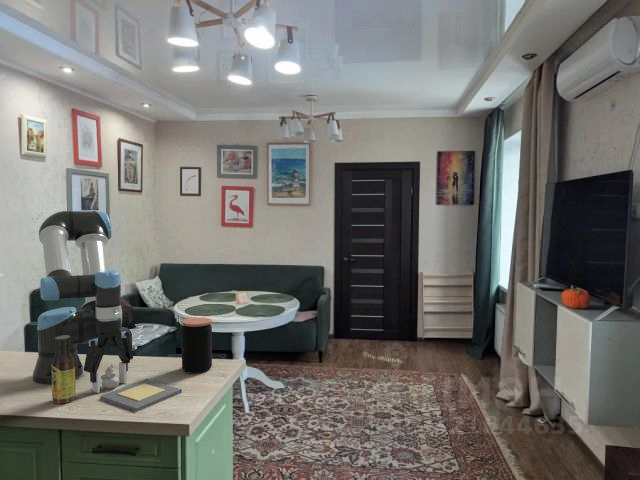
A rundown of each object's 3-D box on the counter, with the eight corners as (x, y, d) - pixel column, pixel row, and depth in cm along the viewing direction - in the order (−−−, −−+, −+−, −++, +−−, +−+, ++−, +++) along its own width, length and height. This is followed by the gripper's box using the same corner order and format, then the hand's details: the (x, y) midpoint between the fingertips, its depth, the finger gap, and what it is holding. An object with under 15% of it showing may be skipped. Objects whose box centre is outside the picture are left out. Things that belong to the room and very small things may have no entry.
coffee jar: (192, 363, 177) (191, 316, 176) (217, 365, 174) (217, 318, 173) (176, 372, 167) (175, 322, 166) (202, 375, 164) (202, 325, 163)
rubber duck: (110, 392, 148) (110, 367, 148) (95, 388, 151) (94, 364, 150) (123, 386, 153) (123, 362, 153) (108, 383, 156) (108, 359, 155)
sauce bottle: (53, 398, 143) (52, 334, 141) (76, 395, 145) (75, 332, 144) (51, 406, 137) (49, 340, 135) (75, 403, 139) (73, 338, 138)
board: (100, 399, 142) (100, 395, 142) (146, 381, 157) (146, 378, 157) (136, 411, 134) (136, 407, 134) (181, 392, 148) (181, 388, 148)
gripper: (83, 327, 139) (85, 400, 141) (144, 313, 158) (145, 378, 159) (69, 324, 143) (70, 395, 144) (129, 311, 162) (130, 374, 163)
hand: (109, 386), depth 152 cm, fingers open, 9 cm apart
